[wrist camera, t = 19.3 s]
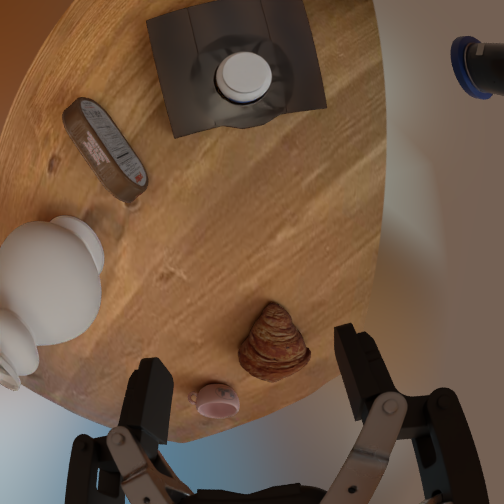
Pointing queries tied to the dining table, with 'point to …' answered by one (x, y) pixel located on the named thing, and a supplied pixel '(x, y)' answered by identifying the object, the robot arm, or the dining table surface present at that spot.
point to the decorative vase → (46, 290)
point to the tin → (105, 149)
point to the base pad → (225, 44)
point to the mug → (216, 401)
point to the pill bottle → (243, 77)
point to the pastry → (273, 346)
